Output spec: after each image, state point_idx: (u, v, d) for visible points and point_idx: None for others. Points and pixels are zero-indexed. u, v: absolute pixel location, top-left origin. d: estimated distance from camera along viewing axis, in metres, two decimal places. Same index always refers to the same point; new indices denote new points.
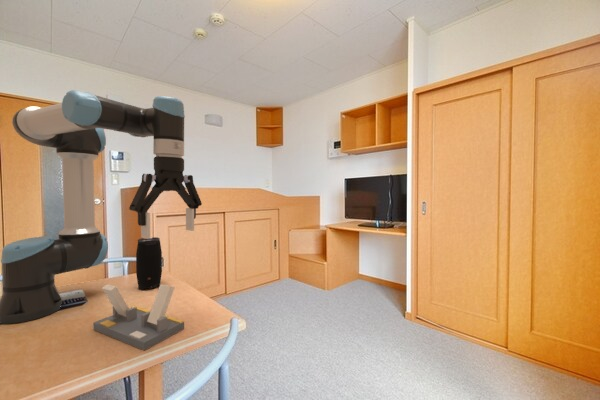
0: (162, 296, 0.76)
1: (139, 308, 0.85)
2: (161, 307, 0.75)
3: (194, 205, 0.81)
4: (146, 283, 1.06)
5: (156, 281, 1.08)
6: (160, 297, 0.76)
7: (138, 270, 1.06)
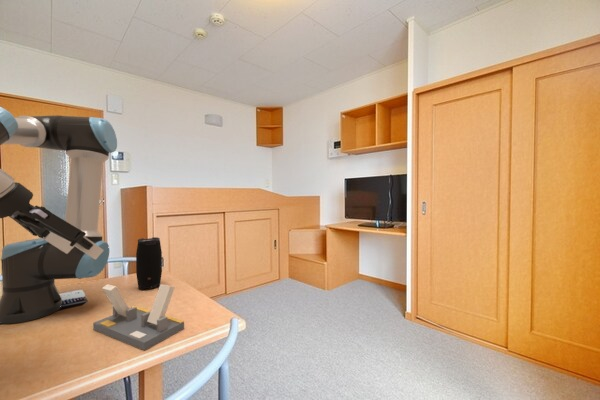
0: (162, 296, 0.76)
1: (139, 308, 0.85)
2: (161, 307, 0.75)
3: (70, 241, 0.62)
4: (146, 283, 1.06)
5: (156, 281, 1.08)
6: (160, 297, 0.76)
7: (138, 270, 1.06)
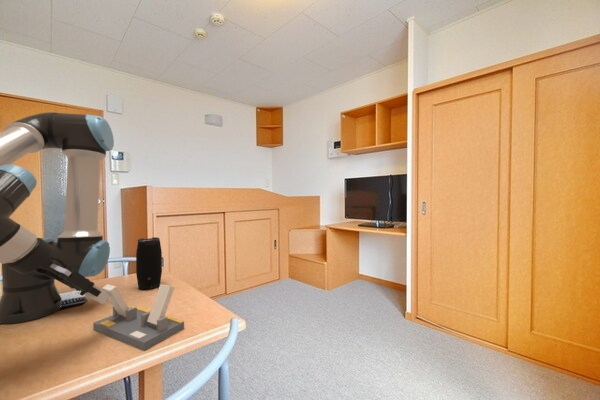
0: (162, 296, 0.76)
1: (139, 308, 0.85)
2: (161, 307, 0.75)
3: (81, 290, 0.69)
4: (146, 283, 1.06)
5: (156, 281, 1.08)
6: (160, 297, 0.76)
7: (138, 270, 1.06)
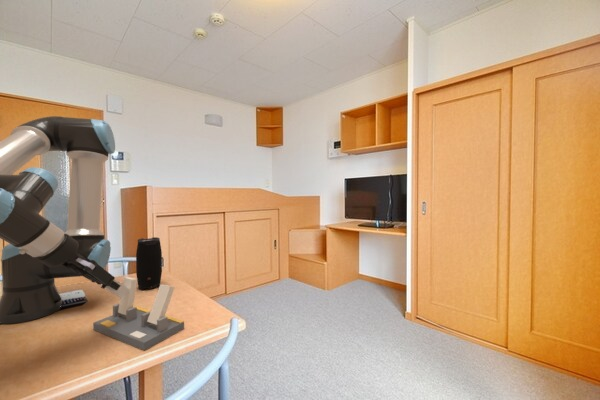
0: (162, 296, 0.76)
1: (139, 308, 0.85)
2: (161, 307, 0.75)
3: (102, 284, 0.73)
4: (146, 283, 1.06)
5: (156, 281, 1.08)
6: (160, 297, 0.76)
7: (138, 270, 1.06)
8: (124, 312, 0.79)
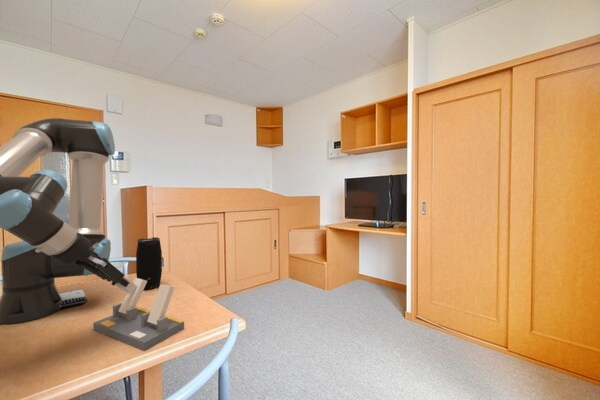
0: (162, 296, 0.76)
1: (139, 308, 0.85)
2: (161, 307, 0.75)
3: (112, 281, 0.76)
4: (146, 283, 1.06)
5: (156, 281, 1.08)
6: (160, 297, 0.76)
7: (138, 270, 1.06)
8: (125, 311, 0.79)
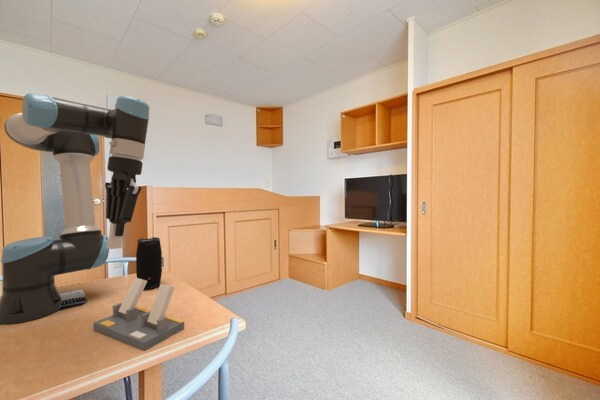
0: (162, 296, 0.76)
1: (139, 308, 0.85)
2: (161, 307, 0.75)
3: (115, 219, 0.69)
4: (146, 283, 1.06)
5: (156, 281, 1.08)
6: (160, 297, 0.76)
7: (138, 270, 1.06)
8: (125, 311, 0.79)
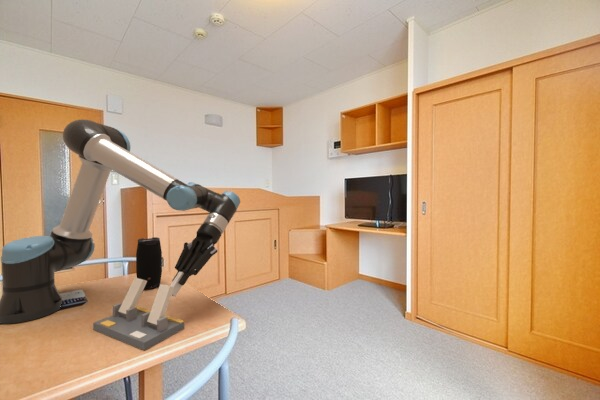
0: (162, 296, 0.76)
1: (139, 308, 0.85)
2: (161, 307, 0.75)
3: (186, 269, 0.82)
4: (146, 283, 1.06)
5: (156, 281, 1.08)
6: (159, 297, 0.76)
7: (138, 270, 1.06)
8: (125, 311, 0.79)
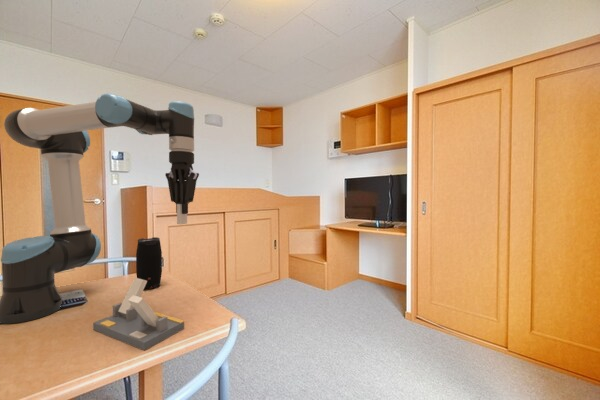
0: (139, 309, 0.70)
1: None
2: (147, 317, 0.71)
3: (181, 200, 0.88)
4: (146, 283, 1.06)
5: (156, 281, 1.08)
6: (138, 309, 0.71)
7: (138, 270, 1.06)
8: (125, 311, 0.79)
